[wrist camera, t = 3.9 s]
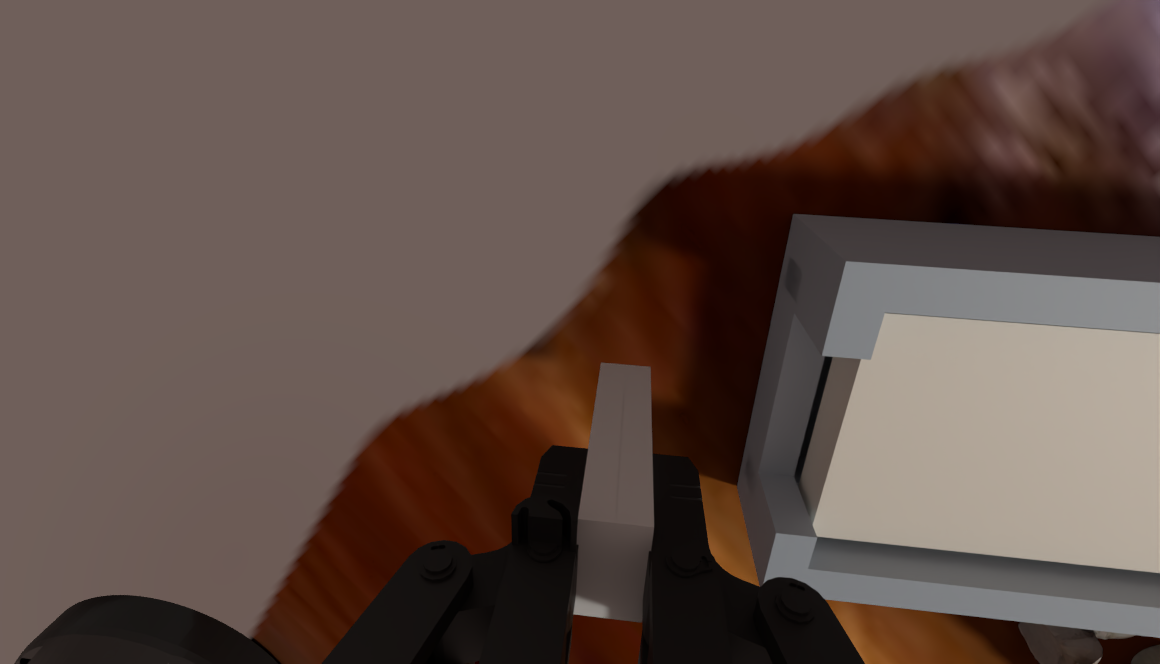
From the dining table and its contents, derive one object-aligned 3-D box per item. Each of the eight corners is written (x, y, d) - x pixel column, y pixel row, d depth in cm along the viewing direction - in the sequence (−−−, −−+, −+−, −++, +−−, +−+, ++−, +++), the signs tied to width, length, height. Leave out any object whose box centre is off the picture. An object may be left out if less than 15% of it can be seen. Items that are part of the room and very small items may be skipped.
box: (736, 486, 22) (761, 591, 17) (793, 213, 17) (846, 261, 13) (1222, 535, 21) (1384, 663, 16) (1425, 253, 16) (1734, 321, 11)
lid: (795, 497, 19) (814, 547, 17) (850, 288, 16) (882, 320, 14) (1294, 547, 18) (1379, 609, 16) (1466, 333, 15) (1602, 374, 13)
